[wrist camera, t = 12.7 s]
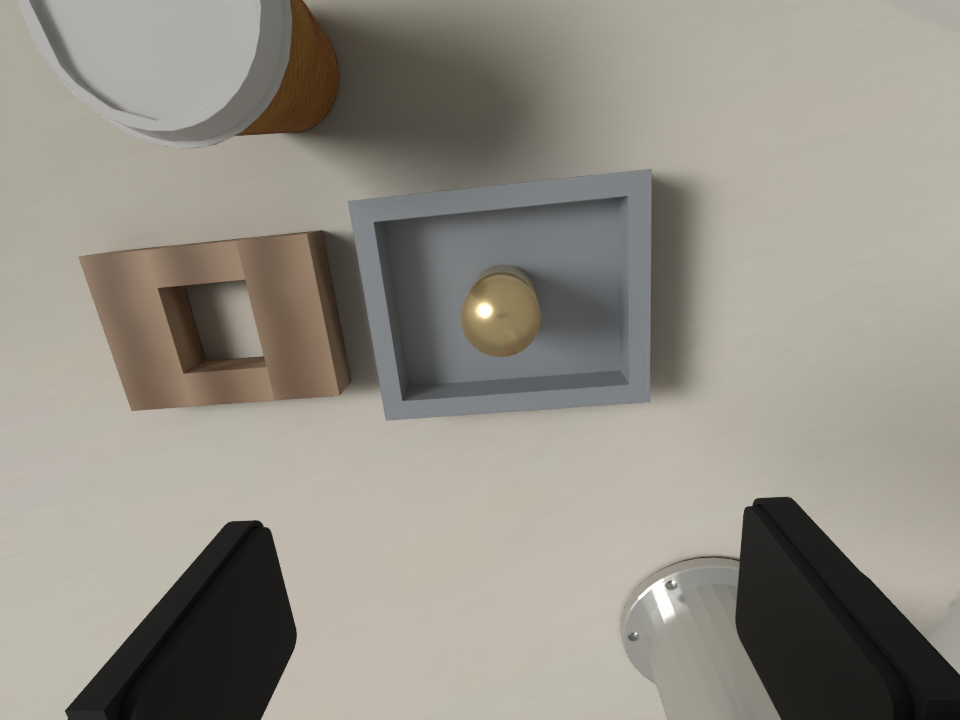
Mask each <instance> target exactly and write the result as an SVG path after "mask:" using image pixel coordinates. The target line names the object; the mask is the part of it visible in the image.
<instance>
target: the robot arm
mask: <svg viewBox="0 0 960 720" xmlns="http://www.w3.org/2000/svg"><path fill="white" fill-rule="evenodd" d="M621 635H622V640H623V645H624V648H625V651H626V654H627V657H628V658H629V660H630V661H631V663H632V664H633V666H634V667H635V668H636V669H637V670H638V671H639V672H640V673H641V674H642V675H643V676H644V677H645V678H647V679H648V680H650V681H651V682H653V683H654V684H656V685H657V688H658V691H659V695H660V698H661V701H662V705H663V708H664V711H665V714H666V718H667V720H960V675H959V674H958V673H957V672H956V670H955V669H954V668H953V667H952V666H951V665H950V664H949V663H948V662H947V661H946V660H945V659H944V658H943V657H942V656H941V654H939V652H938V651H937V650H936V649H935V648H934V647H933V646H932V645H931V644H930V643H929V642H928V641H927V639H926V638H925V637H924V636H923V635H922V634H921V633H920V632H919V631H918V630H917V629H916V628H915V627H914V626H913V625H912V624H911V622H910V621H909V620H908V619H907V618H906V617H905V616H904V615H903V614H902V613H901V612H900V611H899V610H898V609H897V608H896V606H895V605H894V604H893V603H892V602H891V601H890V600H889V599H888V598H887V597H886V596H885V595H884V594H883V593H882V592H881V590H880V589H879V588H878V587H877V586H876V585H875V584H874V583H873V582H872V581H871V580H870V579H869V578H868V577H867V576H866V575H864V574H863V573H862V572H860V571H859V569H858V568H857V567H856V566H855V565H854V564H853V563H852V562H851V561H850V560H849V559H848V558H847V557H846V556H845V554H844V553H843V552H842V551H841V550H840V549H839V548H838V547H837V546H836V545H835V544H834V543H833V542H832V541H831V539H830V538H829V537H828V536H827V535H826V534H825V533H824V532H823V531H822V530H821V529H820V528H819V527H818V525H817V524H816V523H815V522H814V521H813V520H812V519H811V518H810V517H809V516H808V515H807V514H806V513H805V512H804V510H803V509H802V508H801V507H800V506H799V505H798V504H797V503H796V502H795V501H794V500H793V499H792V498H790V497H773V498H757V499H755V500H754V502H753V506H749V507H746V508H745V510H744V515H743V527H742V540H741V552H740V562H739V561H735V560H732V559H723V558H698V559H693V560H688V561H683V562H680V563H677V564H674V565H671V566H668V567H666V568H664V569H662V570H660V571H659V572H657V573H655V574H653V575H652V576H650V577H649V578H648V579H647V580H645V581H644V582H643V583H642V584H640V586H639V587H638V588H637V589H636V590H635V591H634V592H633V594H632V595H631V596H630V598H629V600H628V602H627V603H626V605H625V607H624V611H623V614H622V618H621ZM296 638H297V632H296V627H295V623H294V619H293V615H292V611H291V607H290V603H289V599H288V595H287V591H286V588H285V584H284V580H283V576H282V572H281V568H280V564H279V560H278V556H277V552H276V548H275V545H274V541H273V537H272V533H271V531H270V529H269V528H267V527H264V526H263V524H262V523H261V522H260V521H257V520H254V521H232V522H228V523H227V524H226V525H225V526H224V527H223V528H222V529H221V531H220V532H219V533H218V534H217V535H216V536H215V538H214V539H213V540H212V541H211V542H210V543H209V544H208V546H207V547H206V548H205V549H204V550H203V551H202V553H201V554H200V555H199V556H198V557H197V558H196V560H195V561H194V562H193V563H192V564H191V565H190V567H189V568H188V569H187V570H186V571H185V572H184V573H183V575H182V576H181V577H180V578H179V579H178V580H177V582H176V583H175V584H174V585H173V586H172V587H171V589H170V590H169V591H168V592H167V593H166V594H165V595H164V597H163V598H162V599H161V600H160V601H159V602H158V604H157V605H156V606H155V607H154V608H153V609H152V611H151V612H150V613H149V614H148V615H147V616H146V618H145V619H144V620H143V621H142V622H141V623H140V624H139V626H138V627H137V628H136V629H135V630H134V631H133V633H132V634H131V635H130V636H129V637H128V638H127V640H126V641H125V642H124V643H123V644H122V645H121V646H120V648H119V649H118V650H117V651H116V652H115V653H114V655H113V656H112V657H111V658H110V659H109V660H108V662H107V663H106V664H105V665H104V666H103V667H102V669H101V670H100V671H99V672H98V673H97V674H96V675H95V677H94V678H93V679H92V680H91V681H90V682H89V684H88V685H87V686H86V687H85V688H84V689H83V691H82V692H81V693H80V694H79V695H78V696H77V697H76V699H75V700H74V701H73V702H72V703H71V704H70V706H69V707H68V708H67V709H66V710H65V712H66V714H67V716H68V720H261V718H262V716H263V714H264V712H265V710H266V708H267V705H268V703H269V701H270V699H271V697H272V695H273V693H274V691H275V689H276V687H277V684H278V682H279V680H280V678H281V676H282V674H283V672H284V670H285V668H286V665H287V663H288V661H289V659H290V657H291V655H292V653H293V650H294V648H295V644H296Z"/></svg>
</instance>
